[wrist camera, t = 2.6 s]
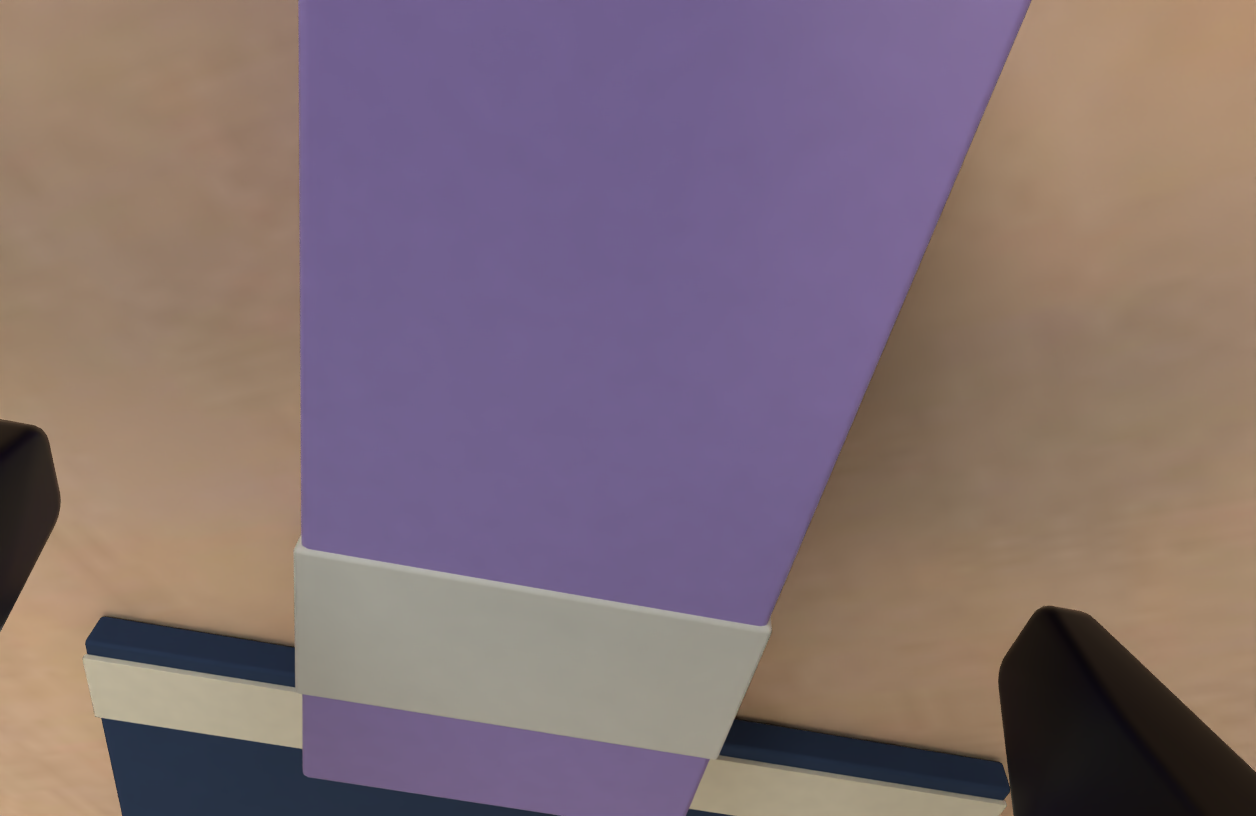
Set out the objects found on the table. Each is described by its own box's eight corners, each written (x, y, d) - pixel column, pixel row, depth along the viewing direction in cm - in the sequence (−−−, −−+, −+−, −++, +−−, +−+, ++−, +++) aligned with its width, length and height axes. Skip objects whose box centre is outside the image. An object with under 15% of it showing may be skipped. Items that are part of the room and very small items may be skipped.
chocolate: (943, -122, 9) (1074, -58, 6) (682, 631, 15) (683, 840, 12) (415, -250, 9) (281, -246, 6) (369, 578, 15) (295, 781, 12)
